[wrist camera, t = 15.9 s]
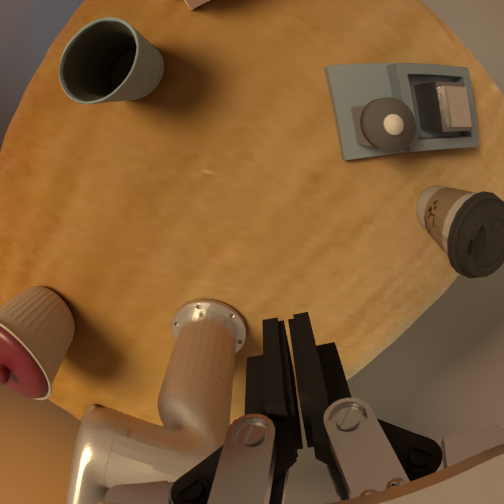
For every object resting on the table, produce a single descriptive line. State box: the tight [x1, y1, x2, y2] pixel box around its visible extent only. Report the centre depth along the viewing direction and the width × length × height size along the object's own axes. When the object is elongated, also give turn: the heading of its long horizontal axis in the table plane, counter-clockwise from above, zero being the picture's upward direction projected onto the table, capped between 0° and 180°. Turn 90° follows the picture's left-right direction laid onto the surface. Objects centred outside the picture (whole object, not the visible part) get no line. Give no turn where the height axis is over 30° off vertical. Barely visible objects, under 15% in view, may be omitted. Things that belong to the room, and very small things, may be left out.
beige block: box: [413, 81, 472, 132], centre depth 30 cm, size 5×6×7 cm
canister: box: [0, 286, 75, 400], centre depth 40 cm, size 18×18×21 cm
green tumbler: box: [59, 17, 164, 104], centre depth 28 cm, size 10×10×12 cm
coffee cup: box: [416, 186, 504, 278], centre depth 34 cm, size 11×11×15 cm
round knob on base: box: [360, 97, 416, 152], centre depth 31 cm, size 6×6×7 cm
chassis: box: [325, 63, 479, 160], centre depth 33 cm, size 13×22×6 cm, turn 102°
